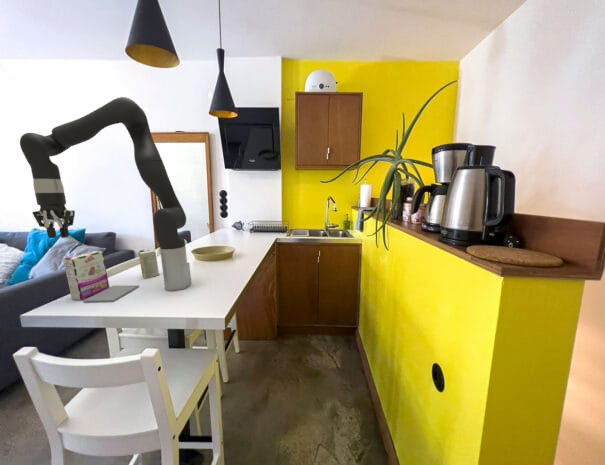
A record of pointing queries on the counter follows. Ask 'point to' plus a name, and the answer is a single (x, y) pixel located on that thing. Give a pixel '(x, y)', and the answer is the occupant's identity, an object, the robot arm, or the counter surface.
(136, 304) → the counter surface
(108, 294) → the felt pad
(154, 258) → the skincare box
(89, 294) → the candy bar box
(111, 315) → the counter surface
